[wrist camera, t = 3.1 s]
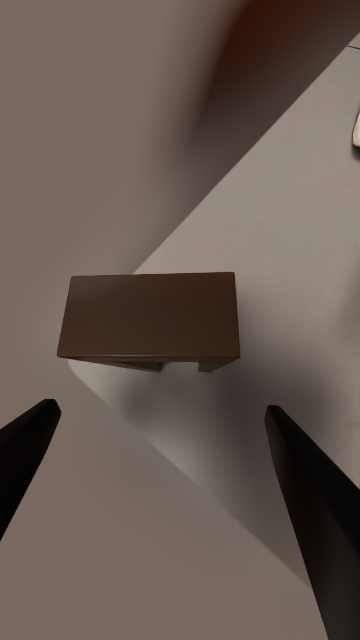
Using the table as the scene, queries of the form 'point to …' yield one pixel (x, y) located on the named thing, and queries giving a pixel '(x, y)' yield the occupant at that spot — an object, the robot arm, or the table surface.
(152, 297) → the brown wooden arch
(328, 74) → the table surface
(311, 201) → the table surface
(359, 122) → the desk lamp
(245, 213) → the table surface
